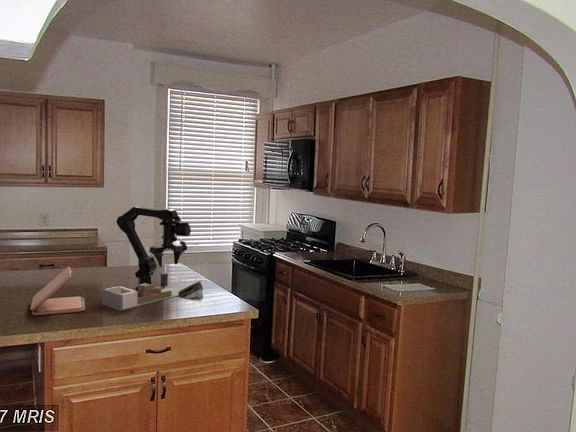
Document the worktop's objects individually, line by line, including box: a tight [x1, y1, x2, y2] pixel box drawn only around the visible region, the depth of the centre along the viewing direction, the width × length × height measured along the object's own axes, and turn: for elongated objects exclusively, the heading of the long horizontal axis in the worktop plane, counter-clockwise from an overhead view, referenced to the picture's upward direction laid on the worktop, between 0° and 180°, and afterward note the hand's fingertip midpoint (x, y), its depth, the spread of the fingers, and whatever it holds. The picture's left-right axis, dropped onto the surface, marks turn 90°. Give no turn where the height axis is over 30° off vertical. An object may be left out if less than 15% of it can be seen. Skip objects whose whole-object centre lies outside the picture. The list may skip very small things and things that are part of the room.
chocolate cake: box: [178, 280, 204, 300], centre depth 238 cm, size 10×7×12 cm
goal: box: [101, 285, 138, 311], centre depth 219 cm, size 13×9×6 cm
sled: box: [138, 272, 169, 298], centre depth 234 cm, size 5×15×10 cm, turn 144°
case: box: [29, 266, 86, 316], centre depth 212 cm, size 20×21×16 cm
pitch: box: [102, 287, 181, 312], centre depth 232 cm, size 13×40×3 cm, turn 144°
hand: (168, 265), depth 244 cm, fingers open, 9 cm apart
